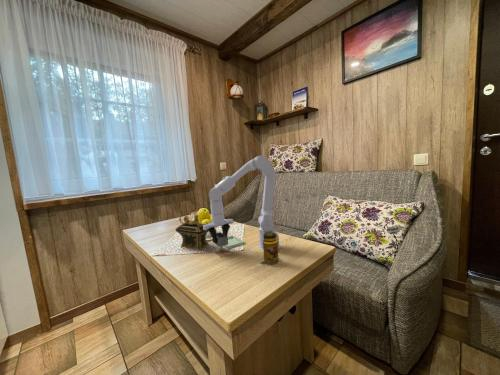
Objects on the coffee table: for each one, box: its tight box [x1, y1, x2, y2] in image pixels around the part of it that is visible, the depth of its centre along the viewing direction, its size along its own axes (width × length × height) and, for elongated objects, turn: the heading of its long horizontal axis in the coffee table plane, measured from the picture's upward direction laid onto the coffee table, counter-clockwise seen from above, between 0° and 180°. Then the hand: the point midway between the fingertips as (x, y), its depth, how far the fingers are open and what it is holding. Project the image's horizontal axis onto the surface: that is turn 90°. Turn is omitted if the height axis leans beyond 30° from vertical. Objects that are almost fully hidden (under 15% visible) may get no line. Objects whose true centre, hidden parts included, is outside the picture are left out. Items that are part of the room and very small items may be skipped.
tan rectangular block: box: [213, 246, 233, 259], centre depth 100 cm, size 9×6×4 cm, turn 33°
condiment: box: [259, 232, 283, 267], centre depth 89 cm, size 7×8×12 cm
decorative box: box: [175, 208, 210, 251], centre depth 112 cm, size 20×10×20 cm, turn 61°
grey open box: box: [211, 231, 229, 248], centre depth 102 cm, size 9×4×4 cm, turn 33°
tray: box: [223, 234, 246, 250], centre depth 112 cm, size 13×10×2 cm
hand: (220, 241), depth 102 cm, fingers closed on grey open box, 4 cm apart
